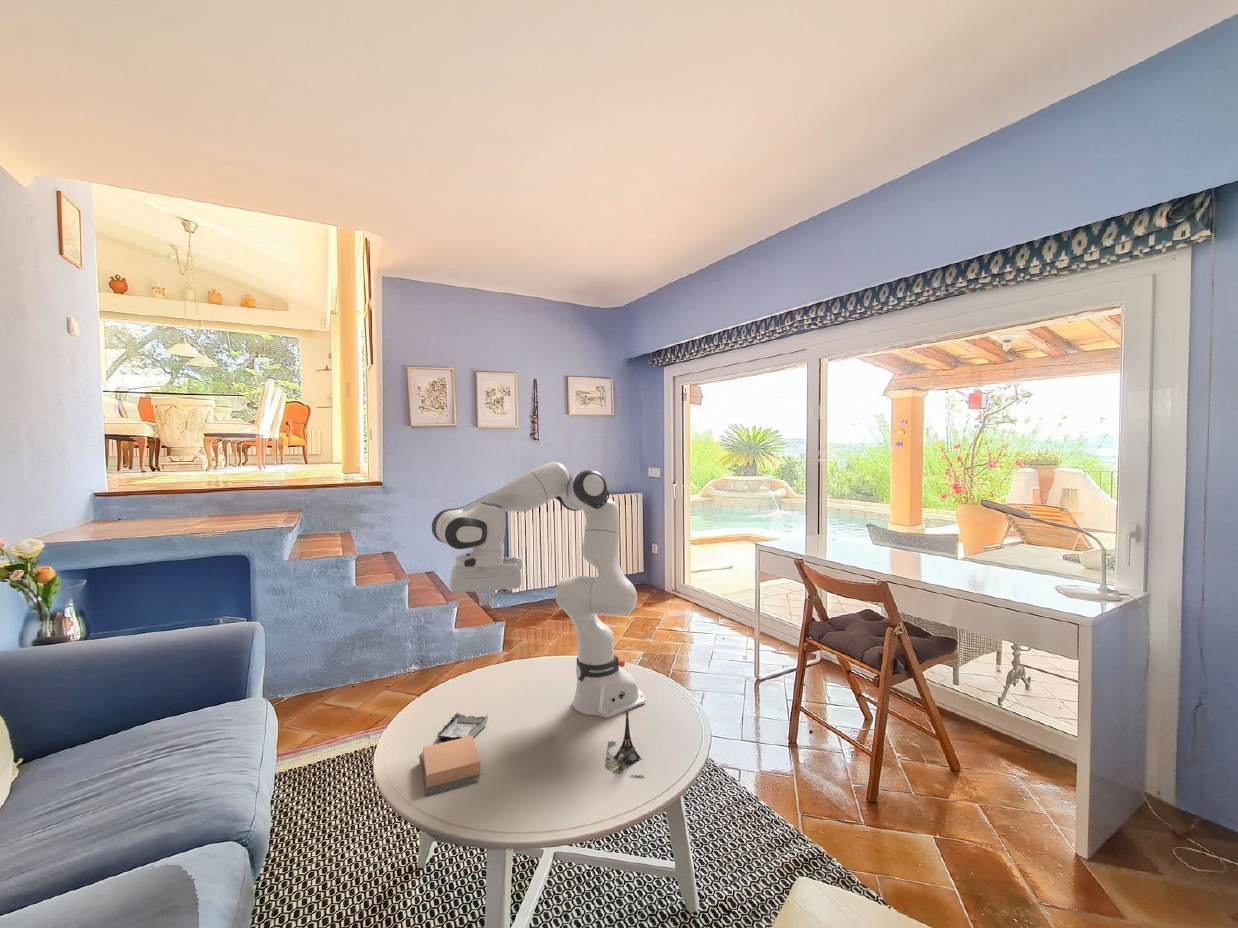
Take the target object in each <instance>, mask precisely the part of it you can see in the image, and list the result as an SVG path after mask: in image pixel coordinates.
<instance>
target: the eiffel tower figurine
mask: <svg viewBox="0 0 1238 928" xmlns="http://www.w3.org/2000/svg"><path fill="white" fill-rule="evenodd" d="M629 715H630V714H629V712H628V711H625V729H624V735H623V736H624V737H623V741H622V744H621V746H620V747H619V750H618V751H617V753H616V754H615V755H613V754H612V753H610V752H609V751H610V749H611V748H613V747H615V746H617V743H616V741H614V740H613V741H612V740H608V741H607V746H606V756H605V762H604V767H605V769H606V770H607V771H609V772H610V773H611V774H613V775H614V774H615V775H621V774H623V772H624V768H623V767H625V768H627V769H628V768H630V767H631V766H633V765H634V764H637V763H638V762H640V761H641V760H643V758H642V757H641V756H640V755H639V753H638V752H637V751H636V748H635V746H634V745H633V742H632V738H631V732H630V722H629V721H630V720H629ZM630 778H645V775H644V774H643V775H642V774H641V775H638V774H635V775H634V774H631V775H630Z"/></svg>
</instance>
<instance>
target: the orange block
mask: <svg viewBox="0 0 1238 928" xmlns="http://www.w3.org/2000/svg"><path fill="white" fill-rule="evenodd" d="M422 753H423V763H424V771H425V780H426V788H429V787H433V786H437V785H440V784H444V783H448V782H452V781H455V780H459V779H463V778H466V777H470V776H474V775H477V776H478V775H481V758H480V756H479V751H478V749H477V745H476V743H475V739H474V737H473V736H469V737H464V738H460V739H456V740H452V741H447V742H443V743H440V742H439V743H435V744H431V745H427V746H423V747H422Z"/></svg>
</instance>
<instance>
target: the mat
mask: <svg viewBox="0 0 1238 928" xmlns="http://www.w3.org/2000/svg"><path fill="white" fill-rule="evenodd" d="M420 756H421V757H420V758H421V765H422V775H423V783H424V793H425V797H428V795H429V796H432V795H435V794H439V793H442V792H447V791H450V790H453V789H457V788H461V787H464V786H469V785H471V784H475V783H479V776H478V775H474V776H470V777H466V778H463V779H459V780H455V781H452V782H448V783H444V784H440V785H437V786H433V787H429V788H426V780H425V771H424V763H423V752H421V753H420Z"/></svg>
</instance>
